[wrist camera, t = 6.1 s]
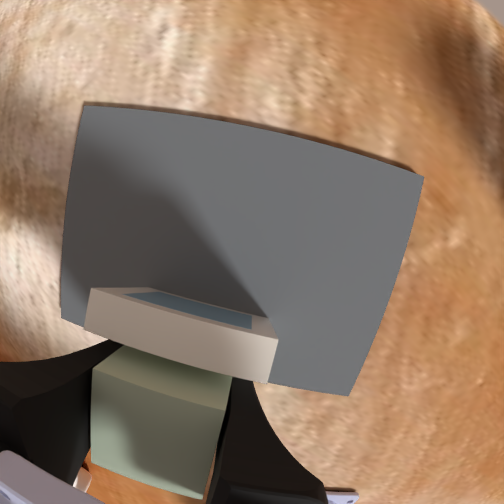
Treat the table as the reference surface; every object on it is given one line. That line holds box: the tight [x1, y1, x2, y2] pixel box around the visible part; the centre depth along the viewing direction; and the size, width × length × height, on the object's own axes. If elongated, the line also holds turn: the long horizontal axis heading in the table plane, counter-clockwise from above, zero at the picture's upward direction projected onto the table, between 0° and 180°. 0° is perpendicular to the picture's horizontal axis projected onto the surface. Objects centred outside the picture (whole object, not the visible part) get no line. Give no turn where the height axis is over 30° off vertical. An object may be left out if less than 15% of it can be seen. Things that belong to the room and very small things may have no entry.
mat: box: [61, 106, 424, 396], centre depth 15 cm, size 12×17×1 cm
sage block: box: [91, 345, 233, 500], centre depth 11 cm, size 4×4×6 cm
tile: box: [84, 287, 279, 384], centre depth 12 cm, size 1×6×6 cm, turn 77°
